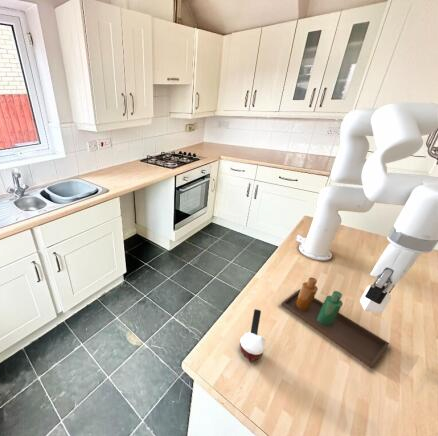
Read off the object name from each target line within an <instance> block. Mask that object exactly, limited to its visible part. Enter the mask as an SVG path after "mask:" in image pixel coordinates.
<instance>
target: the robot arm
mask: <svg viewBox="0 0 438 436" xmlns="http://www.w3.org/2000/svg"><path fill="white" fill-rule="evenodd" d="M339 129H340V131H339V138H340V139H339V140H340V141H339V147H338V151H337V154H336V156H335V160H334V163H333V166H332V169H331V174H330V180H331V181H332V182H334V183H338V184H343V185H328V186H325V187H323V188H322V189H321V190H320V191H319V194H318V199H317V205H316V209H315V213H314V216H313V219H312V221H311V225H310V227H309V230H308V233H307V236H306V237H303V236H302V235H300V234H298V235H297V236H296V237H295V238H296V242H298V243H300V244H299V246H298V251H300V253H301V254H302V255H304V256H305V257H307V258H309V259H313V260H316V261H320V262H321V261H323V262H324V261H329V260H330V259H332V257H333V253H332V251H331V248H332V245H333V243H334V241H335V239H336V237H337V234H338V232H339V229H340V227H341V225H342V217H341V215H340V214H339V212H351V213H361V214H362V213H367V212H369V211H370V210H371V209H373V207H374V205H375V203H376V204H381V205H382V204H383V205H391V206H392V205H393V206H402V207H403V208H402V210H401V211H400V213H399V215H398V217H397V219H396V220H395V223H393V226H392V228H391V230H390V231H389V233H388V235H387V237H386V239H387V241H388V242H389V243H388V245H387V247H386V248H384V250H383V252H382V254H381V256H380V257H379V259H378V261H377V262H376V264H375V265H374V267H373V268H372V270H371V272H370V273H369V275H370V277H373V278H376V279H375V280H374V281H373V283H372V284H371V287H370V288H369V290H368V292H367V294H366V295H365V297H366V298H368V299H370V300H372V301H374V302H375V303H377V304H381V302H382V301H383V299H384V298H385V296H386V294H387V293H388V292H387V290H388V289H389V287H390V286H391V285H394V286H393V287H392V289H391V291H389V294H390V293H391V292H392V290H393V289H394V287H396V285H397V284H398V283H399V281H400V280H402V278H404V276H406V274H407V273H408V272H409V271H410V269H411V268H412V267H413V266H414V265H415V263H416V262H417V260H418V259H419V257H420V256H421V254H429V253H432V252H433V250H434V248H435V247H436V245H437V244H438V176H435V175H423V174H411V173H397V172H388V167H387V164H390V163H393V162H397V161H401V160H404V159H407V158H409V157H411V156H413V155H415V154H417V152H419V151H420V150H421V149H422V147H423V145H424V139H423V136H428V135H431V134H433V133H434V132H436V131H437V130H438V103H434V102H393V103H388V104H385V105H383V106H380V107H378V108H376V107H369V108H358V109H354V110H351V111H349V112H348V113H347V114H346V115H345V116H344V118H343V120H342V122H341V125H340V128H339ZM367 137H373V139H374V142H375V147H376V150H374V152H372V153H371V154H370V155H369V157H368V158H367V155H368V153H369V150H370V142H369V139H368V138H367ZM344 185H354V186H355V185H356V186H360V187H353V186H344ZM388 280H390V281H388ZM385 283H387V286H386V287H385V286H384V284H385Z"/></svg>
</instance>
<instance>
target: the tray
mask: <svg viewBox="0 0 438 436" xmlns="http://www.w3.org/2000/svg"><path fill="white" fill-rule="evenodd" d="M300 290H301V288H299V289H298V290H297V291H295V292H294V293H293V294H291V295H290V296H288V297H287V298H286V299H285V300H283V301H282V302H281V305H280V306H281V307H282V308H283V309H285V310H287V311H288V312H290V313H291V314H292V315H293V316H295V317H297V318H298V319H299V320H301V321H302V322H304V323H305V324H306V325H308V326H309V327H311V328H313V330H314V331H317V332H318V333H320V334H321V335H323V336H324V337H325V338H326V339H327V340H330V341H331V342H332V343H334V344H335V345H336V346H338V347H339V348H341V349H343V350H344V351H345V352H347V353H348V354H350V355H351V356H352V357H354V358H355V359H356V360H358V361H359V362H361V363H363V364H364V365H365V366H367V367H368V368H370V369H372V368H373V367H374V365H375V364H376V362H377V361H378V360H379V359H380V357H381V356H382V354H383V353H384V351H385V350H386V349H387V347H388V346H389V345H390V342H388V341H387V340H385V339H384V338H381V337H380V336H378V335H376V334H375V333H373V332H372V331H370V330H369V329H367V328H365V327H364V326H362V325H360V324H358V323H357V322H355V321H353V319H351V318H348V317H347V316H345V315H344V314H343V313H340V312H339V313H338V314H337V316H336V318H335V320H334V322H333V324H332V325H331V326H324V325H322V324H321V323H319V322H318V320H317V315H318V313H319V311H320V309H321V307H322V305H323V303H324V302H322V301H320V300H319V299H317V298H316V297H314V299H313V302H312V304H311V306H310V308H309V310H308V311H302V310H300V309H298V308H297V307H296V305H295V302H296V300H297V297H298V295H299V292H300Z"/></svg>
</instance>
